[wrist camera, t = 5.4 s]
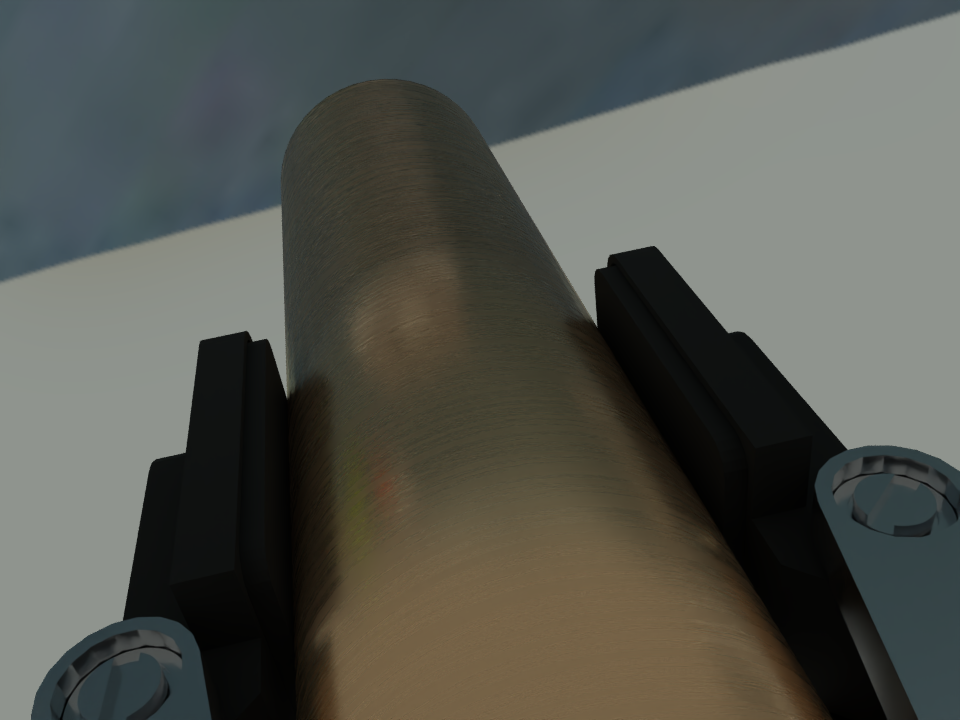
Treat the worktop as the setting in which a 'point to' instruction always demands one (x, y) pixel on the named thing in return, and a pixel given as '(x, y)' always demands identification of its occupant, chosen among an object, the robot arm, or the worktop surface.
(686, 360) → the robot arm
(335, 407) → the thermos bottle
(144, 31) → the worktop surface
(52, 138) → the worktop surface
